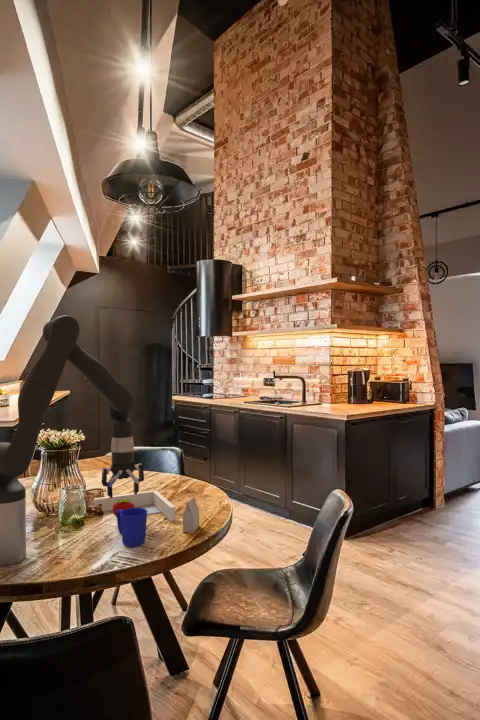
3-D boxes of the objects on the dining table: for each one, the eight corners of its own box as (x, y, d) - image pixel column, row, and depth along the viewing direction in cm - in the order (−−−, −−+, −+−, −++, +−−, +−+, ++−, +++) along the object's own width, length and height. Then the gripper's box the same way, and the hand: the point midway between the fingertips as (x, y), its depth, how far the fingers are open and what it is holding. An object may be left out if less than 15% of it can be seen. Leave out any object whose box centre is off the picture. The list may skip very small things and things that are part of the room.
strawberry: (132, 526, 160) (132, 497, 160) (110, 526, 160) (110, 497, 160) (136, 520, 166) (135, 492, 166) (114, 520, 166) (114, 492, 166)
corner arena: (175, 520, 165) (175, 506, 165) (106, 532, 155) (106, 517, 155) (156, 502, 187) (156, 489, 187) (94, 511, 176) (93, 498, 176)
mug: (128, 534, 153) (128, 503, 153) (152, 543, 145) (152, 510, 145) (107, 541, 147) (107, 509, 147) (131, 551, 139) (131, 518, 139)
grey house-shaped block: (199, 526, 160) (198, 496, 160) (193, 533, 154) (193, 502, 154) (188, 525, 161) (188, 496, 161) (182, 532, 154) (182, 502, 154)
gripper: (103, 453, 157) (104, 501, 157) (145, 449, 163) (146, 495, 163) (99, 449, 163) (100, 495, 164) (139, 445, 170) (140, 489, 170)
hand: (123, 495), depth 163 cm, fingers open, 8 cm apart
